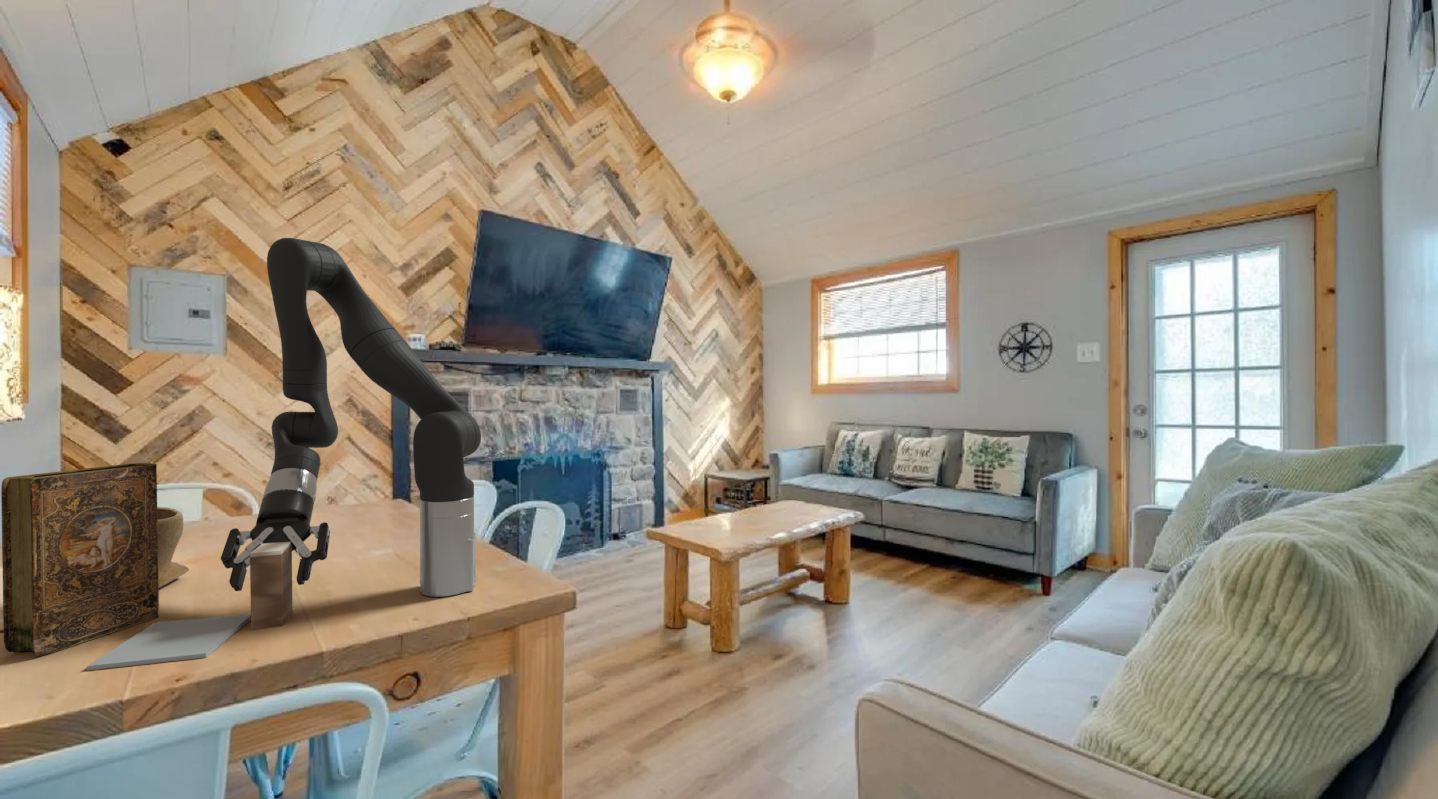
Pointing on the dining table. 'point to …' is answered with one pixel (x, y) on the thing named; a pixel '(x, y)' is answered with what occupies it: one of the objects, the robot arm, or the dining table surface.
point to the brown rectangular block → (271, 584)
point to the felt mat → (173, 641)
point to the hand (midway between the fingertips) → (269, 585)
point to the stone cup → (169, 544)
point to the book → (78, 555)
